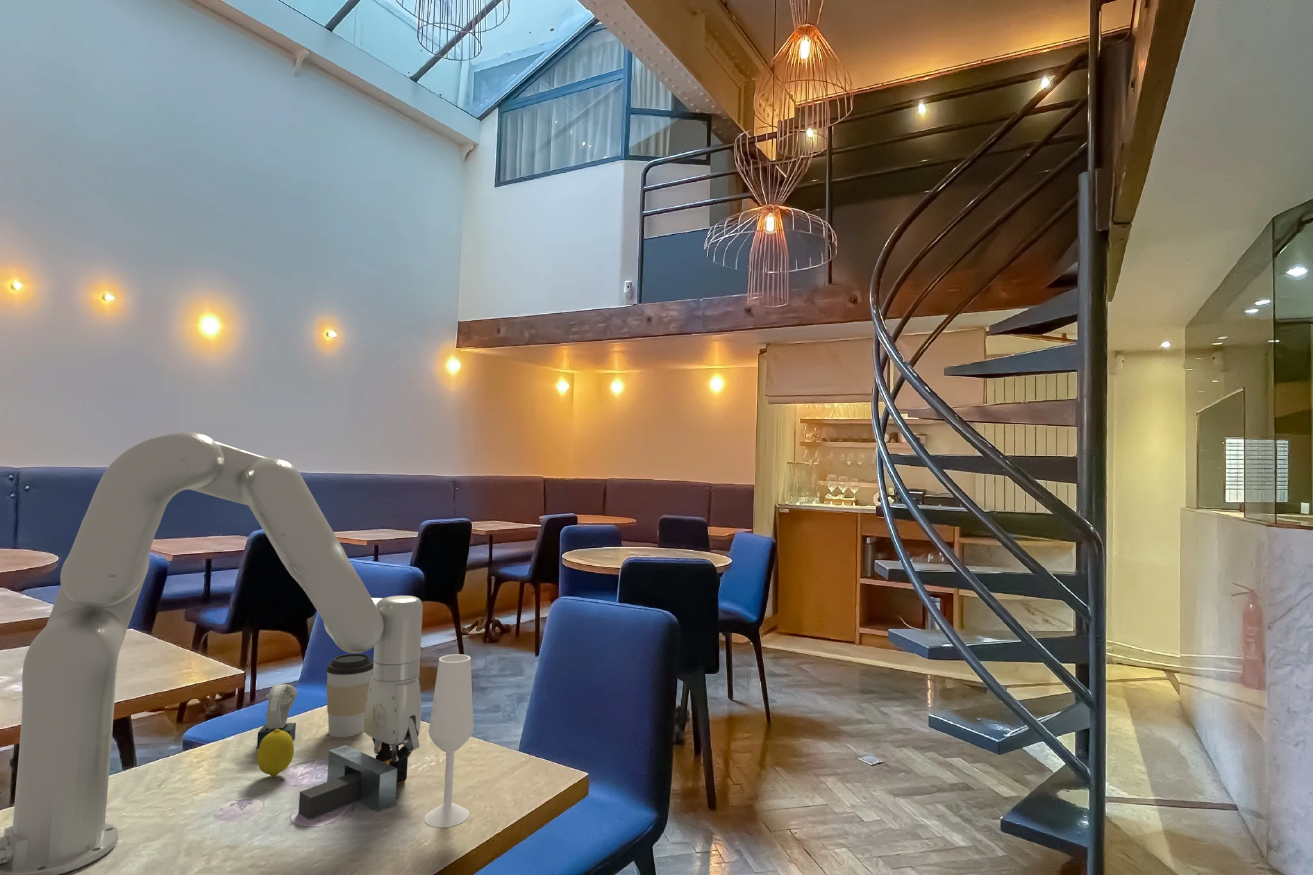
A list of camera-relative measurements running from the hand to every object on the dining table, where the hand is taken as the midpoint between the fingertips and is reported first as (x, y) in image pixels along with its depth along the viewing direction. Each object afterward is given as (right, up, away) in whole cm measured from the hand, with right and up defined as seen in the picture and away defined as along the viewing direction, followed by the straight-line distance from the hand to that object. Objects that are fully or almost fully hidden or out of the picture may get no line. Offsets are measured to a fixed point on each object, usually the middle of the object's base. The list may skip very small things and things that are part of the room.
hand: (390, 778), depth 114 cm
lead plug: (-4, 0, -5) cm, 7 cm away
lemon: (-20, 0, +1) cm, 20 cm away
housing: (-3, 0, -5) cm, 6 cm away
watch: (-28, -1, +14) cm, 31 cm away
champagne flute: (+13, -1, -11) cm, 17 cm away
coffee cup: (-18, -2, +22) cm, 28 cm away
